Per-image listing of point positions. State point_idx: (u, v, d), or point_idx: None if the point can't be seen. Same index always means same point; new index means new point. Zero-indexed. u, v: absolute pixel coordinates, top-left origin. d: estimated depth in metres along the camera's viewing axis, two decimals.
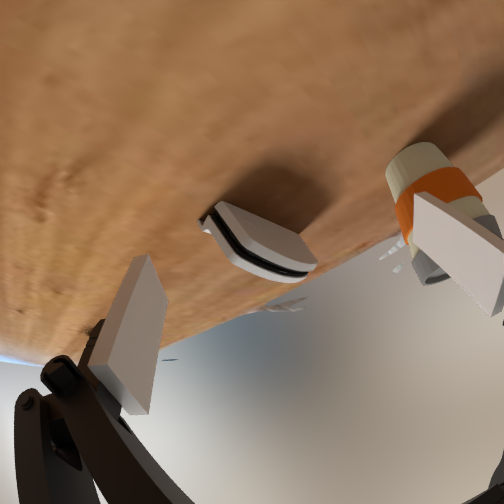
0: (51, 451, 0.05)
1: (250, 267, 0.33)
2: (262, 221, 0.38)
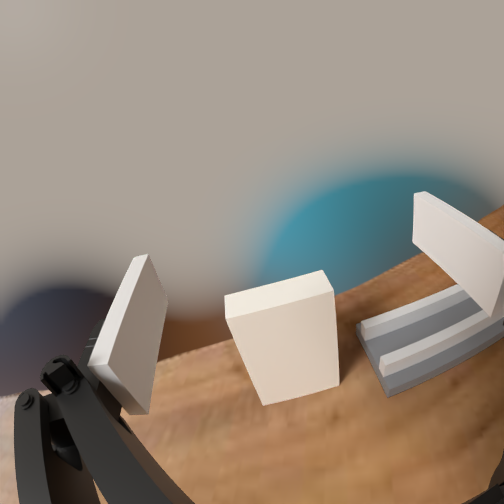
0: (51, 451, 0.05)
1: None
2: None
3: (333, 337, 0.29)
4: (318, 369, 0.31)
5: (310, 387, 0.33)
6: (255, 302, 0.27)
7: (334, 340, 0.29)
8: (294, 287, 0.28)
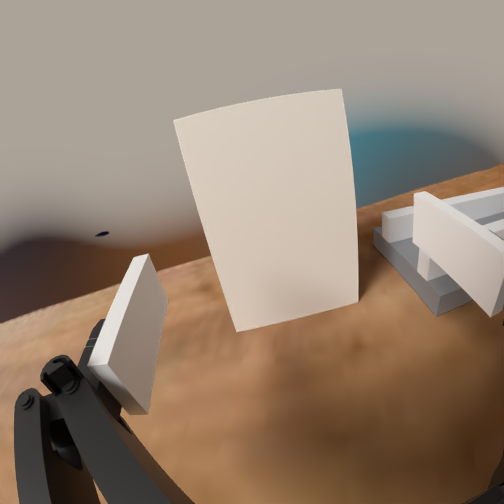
0: (51, 451, 0.05)
1: None
2: None
3: (349, 186, 0.18)
4: (326, 256, 0.20)
5: (313, 298, 0.22)
6: None
7: (350, 192, 0.18)
8: None
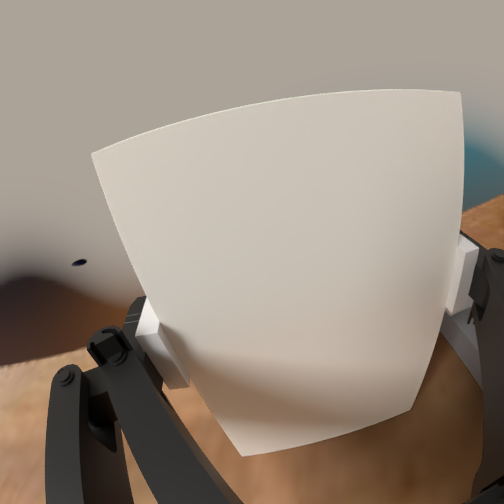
0: (87, 431, 0.06)
1: None
2: None
3: (445, 278, 0.09)
4: (386, 376, 0.11)
5: (354, 420, 0.13)
6: None
7: (444, 286, 0.09)
8: (337, 92, 0.08)
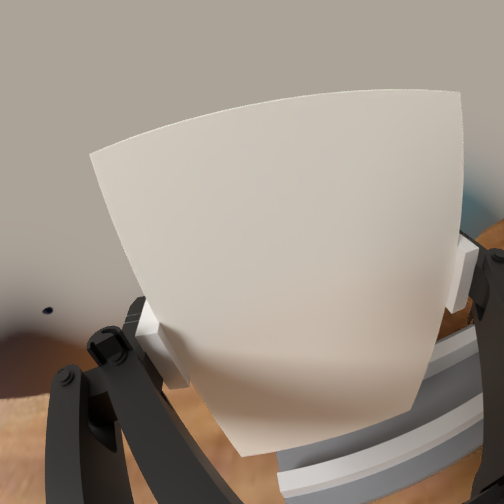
0: (87, 431, 0.06)
1: None
2: None
3: (444, 278, 0.09)
4: (385, 377, 0.11)
5: (354, 420, 0.13)
6: None
7: (444, 287, 0.09)
8: (337, 92, 0.08)
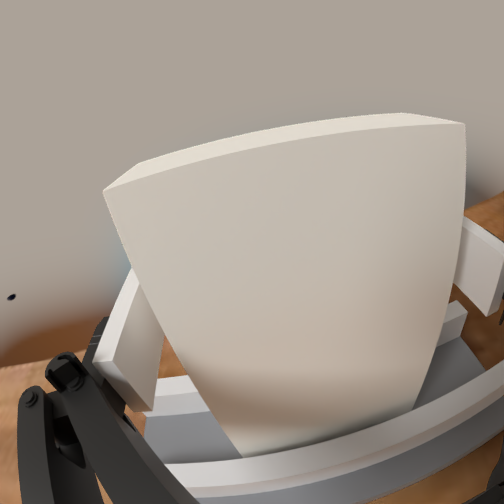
0: (54, 448, 0.05)
1: None
2: None
3: (442, 299, 0.09)
4: (385, 389, 0.11)
5: (354, 428, 0.13)
6: (218, 148, 0.07)
7: (442, 307, 0.09)
8: (344, 122, 0.08)
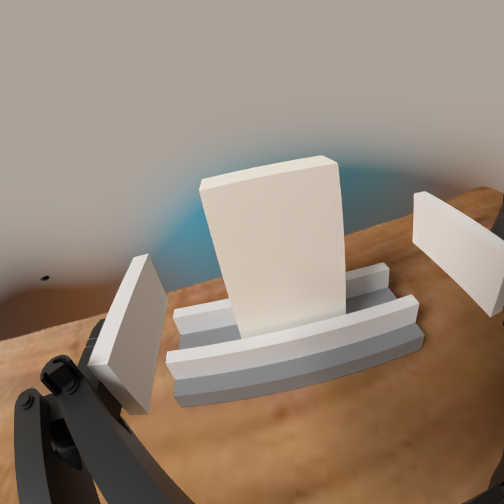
0: (51, 451, 0.05)
1: None
2: None
3: (339, 241, 0.23)
4: (320, 294, 0.25)
5: None
6: (239, 177, 0.21)
7: (340, 245, 0.23)
8: (288, 165, 0.22)
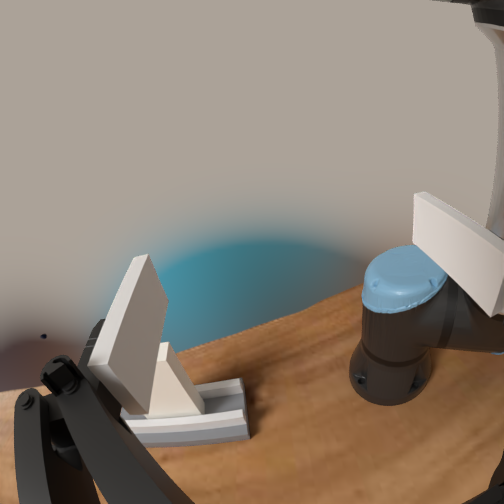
0: (50, 451, 0.05)
1: None
2: None
3: (180, 388, 0.38)
4: (180, 405, 0.41)
5: (180, 416, 0.42)
6: None
7: (182, 389, 0.39)
8: None
